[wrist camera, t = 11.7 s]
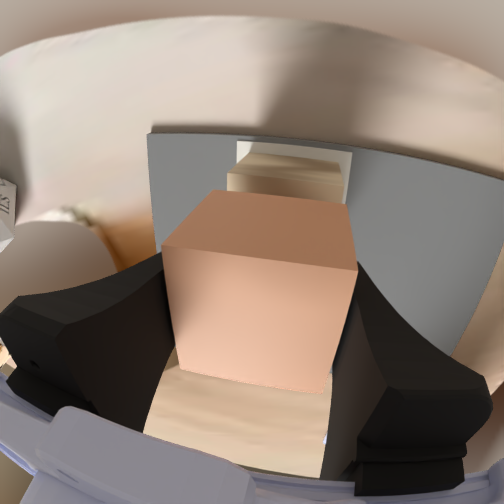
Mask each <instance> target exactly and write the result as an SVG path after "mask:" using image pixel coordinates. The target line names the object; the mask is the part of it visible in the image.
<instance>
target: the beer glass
mask: <svg viewBox="0 0 504 504" xmlns="http://www.w3.org/2000/svg"><path fill="white" fill-rule="evenodd" d="M9 358H11V355H10V353H9V352H8V350H7V348H6V347H5V345H4V343H3V341H2V339H1V337H0V370H1V368H2V366H3V365H4V364H5V362H6V361H7V360H8V359H9Z"/></svg>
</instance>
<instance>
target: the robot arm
mask: <svg viewBox="0 0 504 504" xmlns="http://www.w3.org/2000/svg"><path fill="white" fill-rule="evenodd" d="M357 266H358V274H357V278H356V282H355V286H354V290H353V294H352V298H351V302H350V305H349V309H348V313H347V316H346V320H345V323H344V327H343V330H342V334H341V337H340V340H339V344H338V347H337V350H336V353H335V357H334V360H333V363H332V397H331V408H330V417H329V425H328V431H327V433H326V435H325V437H324V439H323V443H324V444H326V446H325V452H324V458H323V463H322V469H321V474H320V479H319V480H312V479H301V478H293V477H284V476H277V475H270V474H264V473H257V472H252V471H247V470H245V469H243V468H241V467H240V466H237V465H236V464H234V463H232V462H230V461H228V460H226V459H223V458H220V457H217V456H214V455H211V454H208V453H205V452H202V451H199V450H196V449H192V448H188V447H185V446H181V445H178V444H174V443H171V442H168V441H164V440H161V439H158V438H155V437H152V436H149V435H146V434H143V430H144V426H145V422H146V419H147V416H148V413H149V410H150V407H151V403H152V400H153V397H154V395H155V392H156V389H157V386H158V384H159V381H160V378H161V376H162V373H163V371H164V368H165V366H166V363H167V361H168V358H169V356H170V354H171V352H172V350H173V349H174V347H175V345H176V343H175V337H174V331H173V326H172V320H171V314H170V307H169V301H168V294H167V288H166V281H165V273H164V266H163V258H162V251H161V252H159V253H157V254H156V255H154V256H152V257H150V258H148V259H146V260H144V261H142V262H140V263H138V264H136V265H134V266H131V267H129V268H127V269H125V270H123V271H121V272H118V273H116V274H114V275H111V276H108V277H105V278H103V279H100V280H97V281H94V282H90V283H87V284H84V285H80V286H77V287H73V288H69V289H64V290H60V291H54V292H49V293H42V294H34V295H25V296H18V297H17V298H16V299H14V300H13V301H12V302H11V303H10V304H9V305H8V306H7V307H6V308H5V309H4V310H3V311H2V312H1V313H0V337H1V339H2V341H3V343H4V345H5V347H6V348H7V350H8V352H9V353H10V355H11V357H12V359H13V360H14V362H15V363H16V365H17V367H16V369H15V370H14V371H13V372H12V374H11V375H10V376H9V377H8V376H6V375H5V374H3V373H1V372H0V451H2V452H3V453H4V454H5V455H6V456H8V457H9V458H10V459H11V460H13V461H14V462H15V463H16V464H18V465H19V466H20V467H22V468H23V469H25V470H26V471H27V472H29V473H30V474H32V475H33V476H34V478H33V480H32V482H31V484H30V486H29V488H28V489H27V491H26V493H25V494H24V497H23V498H22V500H21V502H20V504H504V458H502V459H501V460H499V461H497V462H496V463H495V464H493V466H491V467H490V469H489V470H485V471H480V472H475V473H469V474H464V469H463V461H462V458H463V457H465V456H466V454H467V448H466V442H467V441H468V440H469V439H470V438H471V437H472V436H473V435H474V434H475V433H476V432H477V431H478V430H479V429H480V428H481V427H482V426H483V425H484V424H485V422H486V421H487V420H488V419H489V417H490V415H491V412H492V410H493V402H492V399H491V396H490V393H489V390H488V386H487V383H486V381H485V378H484V376H482V375H480V374H478V373H477V372H475V371H473V370H471V369H469V368H468V367H466V366H464V365H462V364H460V363H459V362H457V361H456V360H454V359H453V358H451V357H450V356H448V355H447V354H445V353H444V352H442V351H441V350H440V349H438V348H437V347H435V346H434V345H433V344H432V343H430V342H429V341H428V340H427V339H426V338H424V337H423V336H422V335H421V334H420V333H418V332H417V331H416V330H415V329H414V328H413V327H412V326H411V325H410V324H409V323H408V322H407V321H406V320H405V319H404V318H403V317H402V316H401V315H400V314H399V313H398V312H397V311H396V310H395V309H394V307H393V306H392V305H391V304H390V303H389V302H388V300H387V299H386V298H385V297H384V296H383V294H382V293H381V292H380V290H379V289H378V288H377V286H376V285H375V284H374V282H373V281H372V280H371V278H370V277H369V275H368V274H367V273H366V271H365V270H364V268H363V267H362V265H361V264H360V263H359V261H357Z"/></svg>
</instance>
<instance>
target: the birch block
mask: <svg viewBox="0 0 504 504" xmlns="http://www.w3.org/2000/svg"><path fill="white" fill-rule="evenodd" d="M227 191H236V192H247V193H257V194H267V195H276V196H285V197H294V198H302V199H310V200H318V201H326V202H333V203H341V204H342V198H343V192H344V183H343V179H342V175H341V170H340V166H339V162H333V161H325V160H318V159H310V158H302V157H293V156H283V155H274V154H263V153H251V152H249V153H248V154H247V155H246V156H245V157H244V158H242V159H241V160H240V161H239V162H238V163H237V164H236V165H235V166H234V167H233V168H232V169H231V170H230V171H229V172H228V173H227Z"/></svg>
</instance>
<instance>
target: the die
mask: <svg viewBox="0 0 504 504" xmlns="http://www.w3.org/2000/svg"><path fill="white" fill-rule="evenodd" d="M16 186H17V185H15V184H13V183H11V182H8V181H6V180H4V179H1V178H0V253H1V251H2V250H3V249H4V248H5V247H6V246H7V245H8V244H9V243H10V242H11V240H12V239H13V238H14V227H15V200H16Z"/></svg>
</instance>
